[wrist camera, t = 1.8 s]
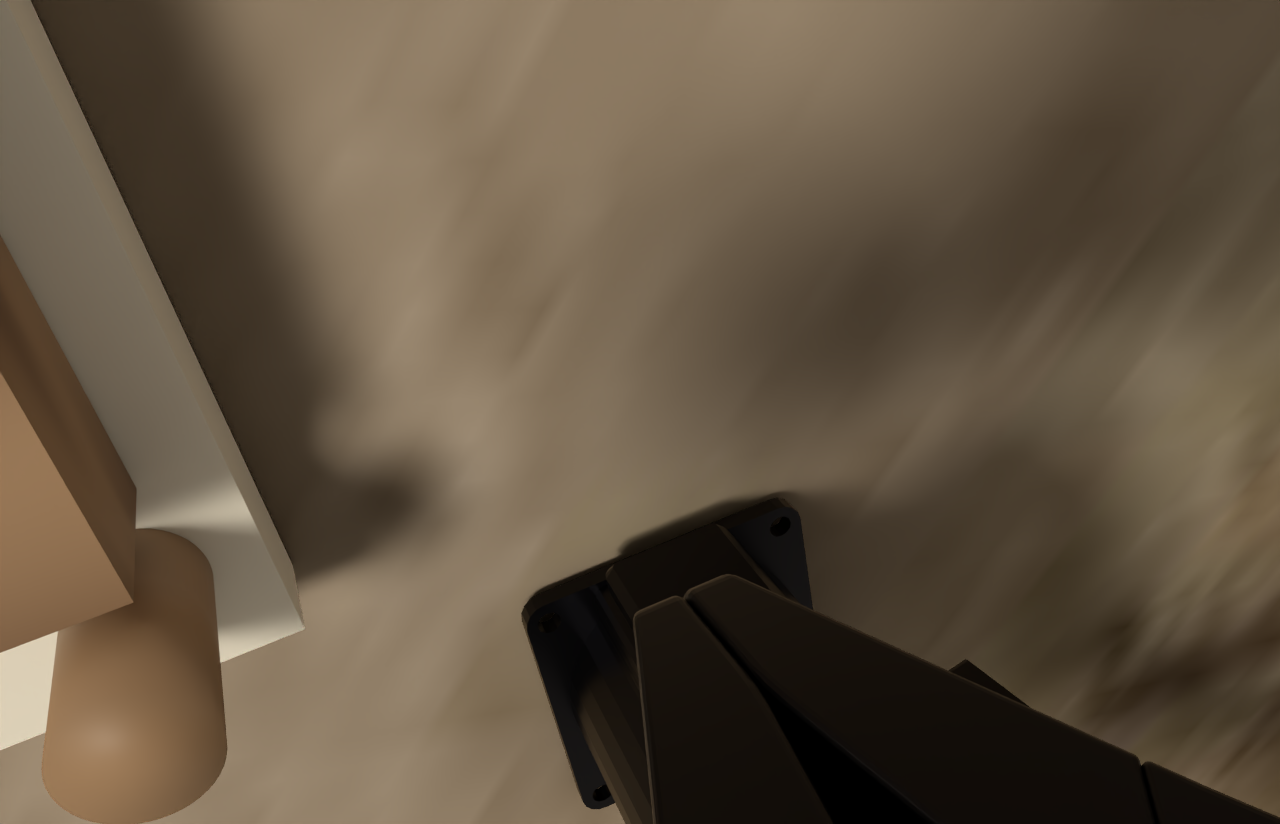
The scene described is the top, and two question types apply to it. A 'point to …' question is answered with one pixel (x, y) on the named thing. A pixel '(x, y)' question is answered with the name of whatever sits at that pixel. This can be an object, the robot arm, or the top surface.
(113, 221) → the white peg board
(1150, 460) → the top surface
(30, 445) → the hinged leg
